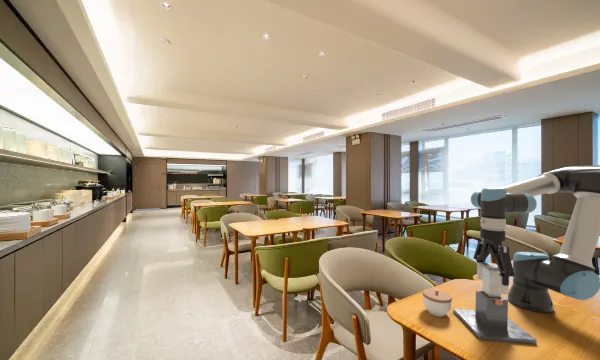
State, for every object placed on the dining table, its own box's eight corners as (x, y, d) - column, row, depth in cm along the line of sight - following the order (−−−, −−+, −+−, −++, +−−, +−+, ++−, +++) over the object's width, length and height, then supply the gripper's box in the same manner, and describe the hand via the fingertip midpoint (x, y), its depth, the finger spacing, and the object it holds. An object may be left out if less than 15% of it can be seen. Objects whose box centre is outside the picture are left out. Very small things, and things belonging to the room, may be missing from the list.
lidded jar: (456, 321, 98) (456, 297, 98) (426, 318, 100) (426, 294, 100) (445, 307, 108) (446, 286, 108) (419, 304, 110) (419, 283, 110)
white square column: (493, 318, 97) (494, 263, 97) (503, 325, 92) (504, 268, 91) (479, 317, 97) (480, 262, 97) (487, 324, 92) (488, 267, 92)
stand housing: (499, 315, 102) (500, 286, 102) (536, 344, 85) (537, 308, 85) (453, 312, 104) (454, 283, 104) (479, 339, 86) (480, 305, 86)
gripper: (464, 222, 107) (463, 273, 107) (504, 235, 83) (503, 300, 83) (483, 223, 106) (482, 274, 106) (529, 236, 82) (528, 302, 82)
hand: (491, 286), depth 94 cm, fingers open, 12 cm apart
